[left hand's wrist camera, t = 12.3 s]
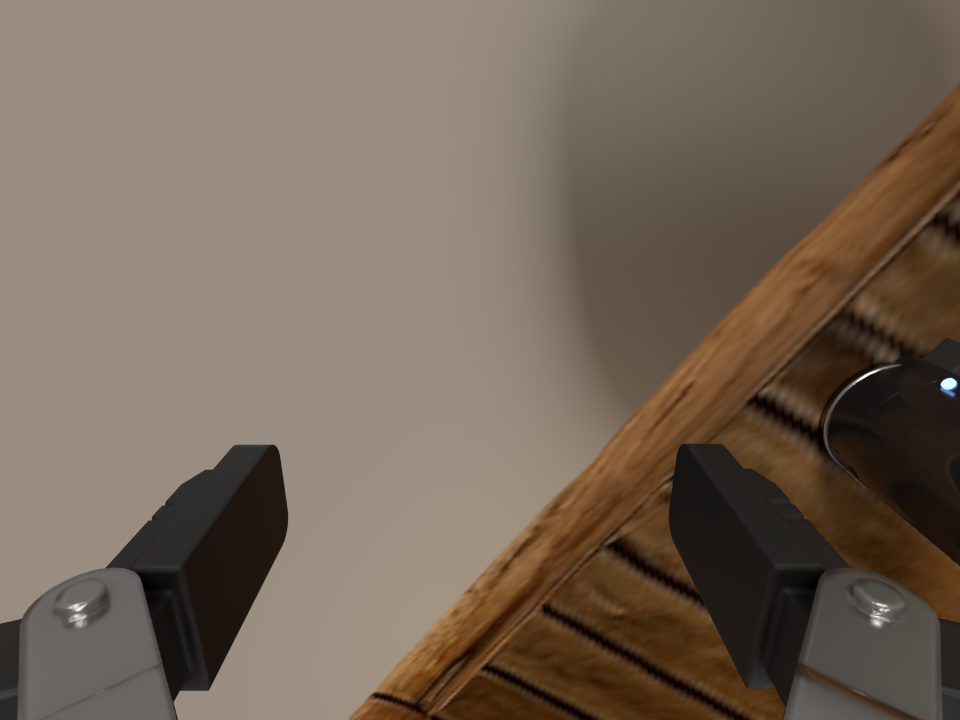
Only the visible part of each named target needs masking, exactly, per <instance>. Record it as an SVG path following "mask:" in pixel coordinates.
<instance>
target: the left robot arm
mask: <svg viewBox="0 0 960 720" xmlns="http://www.w3.org/2000/svg"><path fill="white" fill-rule="evenodd" d="M820 436H821V441H822V444H823V447H824V449H825V451H826V452H827V454H828V455H829V456H830V457H831V458H832V459H833V460H834V461H835V462H836V463H837V464H839V465H840V466H841V467H842V468H844V469H845V470H846V471H847V472H849V473H850V474H851V475H852V476H853V477H854V478H855V479H856V478H857V479H858V480H859V481H860V482H862V483H863V484H864V485H865V486H866V487H867V488H869V489H870V490H871V491H872V492H873V493H874V494H876V495H877V496H878V497H879V498H880V499H881V500H883V501H884V502H885V503H886V504H887V505H888V506H890V507H891V508H892V509H893V510H894V511H896V512H897V513H898V514H899V515H900V516H901V517H903V518H904V519H905V520H906V521H907V522H908V523H910V524H911V525H912V526H913V527H914V528H916V529H917V530H918V531H919V532H920V533H921V534H923V535H924V536H925V537H926V538H927V539H928V540H930V541H931V542H932V543H933V544H934V545H935V546H937V547H938V548H939V549H940V550H941V551H943V552H944V553H945V554H946V555H947V556H948V557H950V558H951V559H952V560H953V561H954V562H955V563H957V564H958V565H959V566H960V343H959V342H956V341H954V340H951V339H949V338H946V339H945V340H944V341H943V342H942V343H940V344H939V345H938V346H937V347H936V348H935V349H933V350H932V351H931V352H930V353H929V354H928V355H926V356H925V357H924V358H923V359H922V358H920V357H917V356H915V355H913V354H911V353H909V352H908V353H905V354H904V355H902V356H901V357H900V358H899V359H897V360H896V361H894V362H887V363H882V364H878V365H875V366H872V367H869V368H867V369H865V370H862V371H860V372H859V373H857V374H855V375H854V376H852V377H851V378H849V379H848V380H847V381H846V382H845V383H843V384H842V385H841V386H840V387H839V388H838V389H837V391H836V392H835V393H834V394H833V395H832V397H831V398H830V400H829V401H828V403H827V405H826V407H825V409H824V412H823V415H822V418H821V423H820ZM857 479H856V480H857ZM858 480H857V481H858ZM859 481H858V482H859ZM860 482H859V483H860ZM860 484H861V483H860ZM861 485H862V484H861ZM862 486H863V485H862ZM863 487H864V486H863ZM864 488H865V487H864ZM669 525H670V531H671V536H672V539H673V542H674V544H675V546H676V548H677V550H678V552H679V554H680V556H681V558H682V560H683V562H684V564H685V566H686V568H687V570H688V572H689V574H690V576H691V578H692V580H693V582H694V584H695V586H696V588H697V590H698V592H699V594H700V596H701V598H702V600H703V602H704V604H705V606H706V608H707V610H708V612H709V614H710V616H711V618H712V620H713V622H714V624H715V626H716V628H717V630H718V632H719V634H720V636H721V638H722V640H723V642H724V644H725V646H726V648H727V650H728V652H729V654H730V656H731V658H732V660H733V662H734V664H735V666H736V668H737V670H738V672H739V674H740V676H741V678H742V680H743V682H744V684H745V686H746V688H775V689H776V690H777V692H778V694H779V696H780V698H781V699H782V701H783V703H784V705H785V710H784V714H783V718H782V720H960V623H958V622H954V621H949V620H945V619H940V618H937V616H936V614H935V612H934V611H933V610H932V608H931V607H930V606H929V605H928V604H927V603H926V602H925V601H924V600H923V599H922V598H921V597H920V596H918V595H917V594H916V593H914V592H913V591H911V590H910V589H909V588H907V587H905V586H903V585H902V584H900V583H898V582H896V581H894V580H892V579H890V578H888V577H885V576H883V575H880V574H877V573H874V572H871V571H866V570H862V569H856V568H851V567H850V566H849V565H848V564H847V563H846V562H845V561H844V560H843V559H842V557H841V556H840V555H839V554H838V553H837V552H836V551H835V550H834V549H833V547H832V546H831V545H830V544H829V543H828V542H827V541H826V540H825V539H824V537H823V536H822V535H821V534H820V533H819V532H818V531H817V530H816V529H815V527H814V526H813V525H812V524H811V523H810V522H809V521H808V520H807V519H804V515H803V514H802V513H801V512H800V511H799V510H798V509H797V507H796V506H795V505H794V504H791V501H790V500H789V499H788V497H787V496H786V495H785V494H784V493H783V492H782V491H781V490H780V489H779V487H778V486H777V485H776V484H775V483H773V482H772V481H770V480H768V479H767V478H765V477H764V476H762V475H760V474H759V473H757V472H755V471H754V470H752V469H743V468H742V466H741V465H740V464H739V463H738V462H737V460H736V459H735V458H734V457H733V456H732V455H731V453H730V452H729V451H728V450H727V449H726V447H725V446H724V445H722V444H682V445H681V446H680V447H679V450H678V453H677V458H676V466H675V473H674V480H673V487H672V494H671V501H670V508H669ZM287 527H288V509H287V502H286V495H285V488H284V481H283V474H282V467H281V460H280V454H279V451H278V449H277V447H276V446H275V445H235V446H233V447H232V448H231V449H230V450H229V452H228V453H227V454H226V455H225V456H224V457H223V459H222V460H221V461H220V462H219V463H218V464H217V466H216V467H215V468H214V469H213V470H204V471H203V472H201V473H200V474H198V475H196V476H195V477H193V478H191V479H190V480H188V481H186V482H185V483H183V484H182V485H181V486H180V487H179V488H178V489H177V490H176V491H175V492H174V493H173V494H172V495H171V497H170V498H169V499H168V500H167V501H166V504H165V506H161V508H160V509H159V510H158V511H157V512H156V513H155V514H154V515H153V516H152V521H148V522H147V523H146V524H145V525H144V526H143V527H142V528H141V530H140V531H139V532H138V533H137V534H136V535H135V536H134V537H133V538H132V539H131V541H130V542H129V543H128V544H127V545H126V546H125V547H124V548H123V549H122V551H121V552H120V553H119V554H118V555H117V556H116V557H115V558H114V559H113V560H112V562H111V563H110V564H109V565H108V566H107V567H106V568H105V569H98V570H94V571H89V572H86V573H83V574H80V575H77V576H75V577H72V578H70V579H68V580H66V581H64V582H62V583H60V584H58V585H57V586H55V587H53V588H51V589H50V590H49V591H47V592H46V593H44V594H43V595H42V596H40V597H39V598H38V599H37V600H36V601H35V602H34V603H33V604H32V605H31V606H30V607H29V608H28V610H27V611H26V612H25V614H24V616H23V618H22V619H19V620H15V621H11V622H6V623H2V624H0V720H178V718H177V714H176V710H175V707H174V703H173V702H174V700H175V698H176V697H177V695H178V693H179V691H208V690H209V689H210V687H211V685H212V683H213V681H214V679H215V677H216V675H217V673H218V671H219V669H220V667H221V665H222V663H223V662H224V660H225V657H226V656H227V654H228V652H229V650H230V648H231V646H232V644H233V642H234V640H235V638H236V636H237V634H238V632H239V630H240V628H241V626H242V624H243V622H244V620H245V618H246V616H247V614H248V612H249V610H250V608H251V606H252V604H253V602H254V600H255V598H256V596H257V594H258V593H259V591H260V589H261V586H262V585H263V583H264V581H265V579H266V577H267V575H268V573H269V571H270V569H271V567H272V565H273V563H274V561H275V559H276V557H277V555H278V553H279V551H280V549H281V547H282V545H283V543H284V540H285V537H286V533H287Z"/></svg>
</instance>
